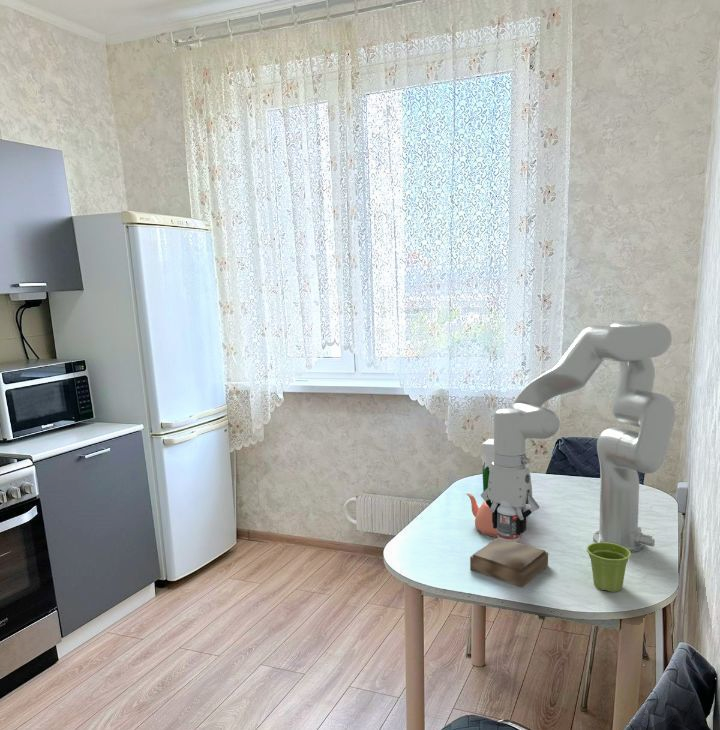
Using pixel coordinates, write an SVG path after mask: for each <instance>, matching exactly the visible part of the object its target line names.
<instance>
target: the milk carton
mask: <svg viewBox="0 0 720 730" xmlns="http://www.w3.org/2000/svg"><path fill="white" fill-rule="evenodd" d="M481 446H482V448H481V449H482V450H481V451H482V490H483V492H484V491H485V490H486V489H487V488H488V481H489V473H490V468H491V464H492V462H494V438H488V439H487V440H485V441H484V442H482V444H481ZM483 492H482V493H483Z"/></svg>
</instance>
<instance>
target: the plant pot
mask: <svg viewBox="0 0 720 730" xmlns="http://www.w3.org/2000/svg"><path fill="white" fill-rule="evenodd" d="M586 552H587V553H588V556H589V559H590V565H591V572H592V580H593V585H594V586H595V587H596V589H599V590H602V591H608V592H609V593H614V592H620V591H621V590H622V588H623V585H624V579H625V575H626V569H627V563H628V562H629V559H630V558H631V553H632V552H630V551H629V550H628V549H627V548H625V547H623V546H620V545H617V544H613V543H606V542H598V543H595V542H592V543H590V544H589V545H587V546H586Z"/></svg>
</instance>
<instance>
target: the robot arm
mask: <svg viewBox="0 0 720 730" xmlns="http://www.w3.org/2000/svg"><path fill="white" fill-rule="evenodd" d="M672 340H673V337H672V333H671V331H670V329H669V328H668V327H667V326H666V325H665V324H662V323H661V322H652V321H636V320H634V321H633V320H621V321H619V320H618V321H616V322H613V323H611V324H610V326H609V325H591V326H587V327H586V328H584V329H583V330H582V331H581V332H580V333H579V335H578V336H577V337H576V338H575V340H574V341H573V343H571V345H570V347H568V349H567V350H566V352H564V354H563V356H561V358H560V360H559V361H558V362H557V363H556V365H555V366H553V367H552V368H551V369H550V370H547V371H546V372H544V373H542V374H541V375H540V376H538V377H536V378H535V379H533V380H532V381H531V382H529V383H528V384H526V386H525V387H523V388H522V390H521V391H520V392H519V393H518V395H517V396H516V398H514V400H513V402H511V404H510V405H509V408H500V409H498V410H496V411H495V412H494V414H493V439H494V462H492V464H491V468H490V473H489V481H488V488H487V489H486V490H485V491H484V492H482V493H480V497H481V498H482V499H483V500H484V501H486V504H487V505H488V506H489V508H490V511H491V512H492V523H493V528H495V529H496V528H497V509H498V507H499V506H500V503H501V501H506V502H508V503H509V505H510V506H512V507H515V508H516V510H517V513H518V517H519V518H518V519H517V535H522V534H524V533H525V532H526V531H527V518H528V517H529V516H530V515H531V514H533V513H534V512H536V511H537V510H539V509H540V506H539V504H538V502H537V501H536V500H535V499H534V497H533V488H532V487H533V486H532V485H533V484H532V476H531V471H530V470H531V469H530V467H529V464H530V463H531V458H529V457H527V454H526V441H527V439H535V440H536V439H537V440H538V439H539V440H542V439H543V440H544V439H549V438H552V437H554V435H555V434H557V433H558V431H559V429H560V425H561V423H560V422H561V421H560V418H559V415H557V413H555V412H554V411H553V410H552V409H549V408H546V407H542V406H543V405H544V404H545V403H547V402H549V400H551V399H553V398H555V397H558V396H561V395H564V394H568V393H569V394H570V393H572V392H576V391H578V390H580V389H581V390H582V389H583V388H584V387H585V386H586V384H588V382H589V380H590V379H591V378H592V377H593V375H594V374H595V373H596V371H597V370H598V368H599V367H600V366H601V365H602V363H603V362H604V361H609V362H610V361H611V362H618V363H619V373H618V380H617V383H616V387H615V392H614V397H613V400H612V404H611V405H612V407H611V413H612V416H613V418H614V419H615V420H617V421H618V422H620V423H622V424H623V423H624V424H627V425H630V426H633V427H636V428H639V432H638V431H634V430H631V429H628V428H627V429H626V428H625V427H624V428H623V427H616V426H614V427H613V426H612V427H608V428H606V429H604V430H603V431H602V432H601V433H600V434H599V435H598V439H597V440H596V451H597V455H598V461H599V468H600V471H599V472H600V473H599V474H600V481H599V483H600V487H599V490H600V491H599V530H598V531H597V530H596V531H595V532H594V533H593V536H592V540H593V543H598V542H606V543H613V544H617V545H620V546H623V547H625V548H627V549H628V550H629V551H630V553H634V552H638V551H640V550H642V549H643V548H644V546H645V545H646V546H648V547H651V548H654V546H655V542H656V541H655V539H654V538H653V535H650V534H649V535H648V534H644V533H643V532H642V527H639V506H640V505H639V501H640V495H639V494H640V478H639V474H638V472H639V473H643V474H653V473H656V472H658V471H659V470H660V469H661V467H662V466H663V464H664V462H665V460H666V458H667V455H668V451H669V446H670V442H671V438H672V435H673V434H672V433H673V428H674V425H675V420H676V410H675V406H674V403H673V401H672V400H671V398H670V397H668V396H666V395H664V394H663V393H662V394H661V393H658V392H653V388H654V383H655V382H654V381H655V377H656V368H655V364H654V361H653V360H652V358H656V357H660V356H662V355H663V354H665V353H666V352H668V350H669V348H670V347H671V344H672ZM526 505H529V508H528V509H527V506H526Z"/></svg>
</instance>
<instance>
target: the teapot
mask: <svg viewBox="0 0 720 730" xmlns="http://www.w3.org/2000/svg"><path fill="white" fill-rule="evenodd" d="M465 495H467V496H468V497H469V499H470V503H471V505H470V507H471V512H472V515H473V516H474V517H475V520H474V526H475V527H476V529H477V530H478V531H479V532H480V533H481V534H483V535H486V536H489V537H496V538H498V536H497V528H496V529H495V528H493V523H492V512H491V511H490V508H489V506H488V505H487V504H486V501H485V500H484V501H483V502H482V503H481V505H480V507H479V506H478V504H477V500H476V498H475V496H474V495H473V494H471V493H466V494H465Z"/></svg>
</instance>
